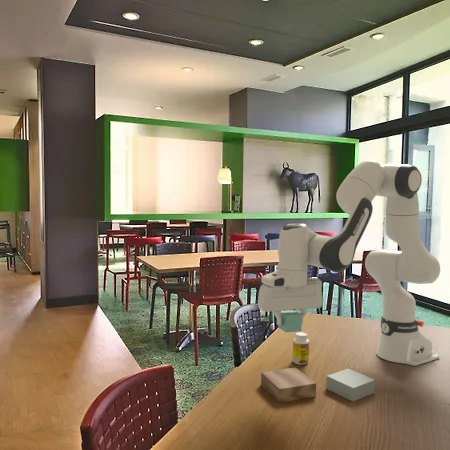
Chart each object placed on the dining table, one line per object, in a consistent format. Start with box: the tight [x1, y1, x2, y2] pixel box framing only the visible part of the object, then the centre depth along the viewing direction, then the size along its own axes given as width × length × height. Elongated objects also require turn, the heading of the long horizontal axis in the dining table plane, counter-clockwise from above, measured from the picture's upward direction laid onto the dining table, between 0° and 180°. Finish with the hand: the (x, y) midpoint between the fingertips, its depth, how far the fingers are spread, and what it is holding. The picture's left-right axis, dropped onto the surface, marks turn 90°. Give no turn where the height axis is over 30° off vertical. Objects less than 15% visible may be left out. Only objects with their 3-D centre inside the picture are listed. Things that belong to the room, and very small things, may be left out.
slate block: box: [325, 368, 376, 402], centre depth 132 cm, size 10×10×4 cm
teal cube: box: [277, 310, 303, 333], centre depth 130 cm, size 5×5×5 cm
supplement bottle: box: [291, 331, 310, 366], centre depth 153 cm, size 6×6×10 cm
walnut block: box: [260, 367, 317, 404], centre depth 131 cm, size 12×12×4 cm
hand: (289, 324), depth 130 cm, fingers closed on teal cube, 5 cm apart
